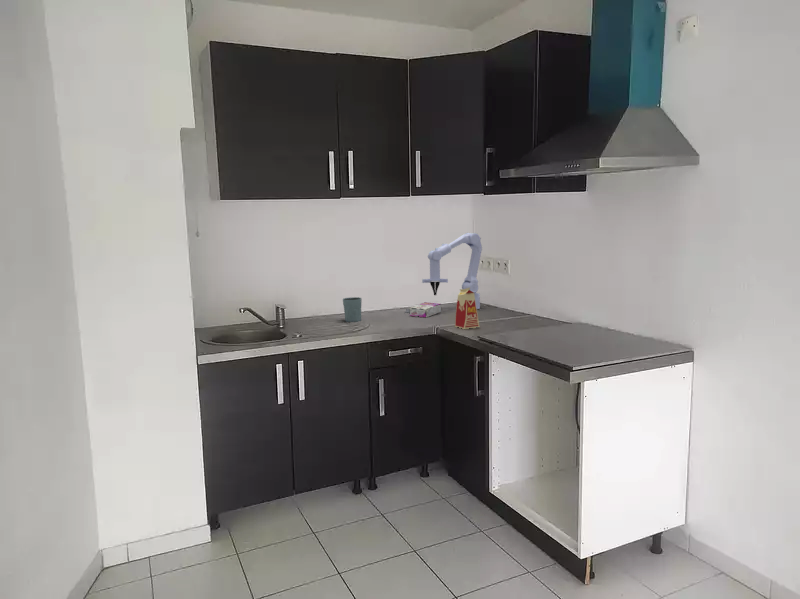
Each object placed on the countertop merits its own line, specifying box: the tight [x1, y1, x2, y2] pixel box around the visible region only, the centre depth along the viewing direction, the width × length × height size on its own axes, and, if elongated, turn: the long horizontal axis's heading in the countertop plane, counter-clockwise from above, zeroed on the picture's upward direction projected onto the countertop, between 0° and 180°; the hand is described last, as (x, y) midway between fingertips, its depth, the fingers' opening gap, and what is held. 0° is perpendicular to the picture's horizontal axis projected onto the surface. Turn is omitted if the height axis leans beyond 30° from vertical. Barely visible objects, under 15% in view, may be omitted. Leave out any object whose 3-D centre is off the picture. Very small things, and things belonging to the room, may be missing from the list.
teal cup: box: [342, 296, 362, 323], centre depth 314 cm, size 10×10×12 cm
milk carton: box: [454, 288, 480, 330], centre depth 288 cm, size 9×9×20 cm
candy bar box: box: [408, 301, 442, 318], centre depth 327 cm, size 11×5×16 cm
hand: (435, 295), depth 337 cm, fingers closed
